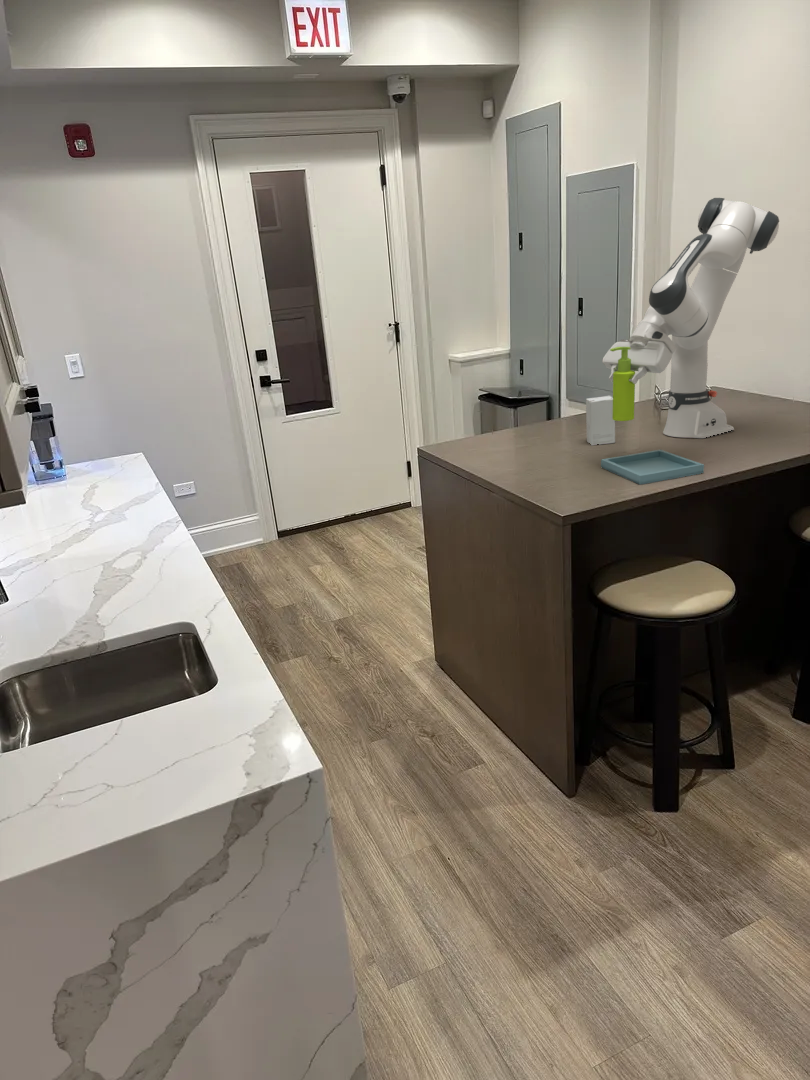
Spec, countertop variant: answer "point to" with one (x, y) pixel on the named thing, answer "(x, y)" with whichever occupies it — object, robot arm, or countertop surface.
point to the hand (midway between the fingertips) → (621, 381)
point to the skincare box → (600, 420)
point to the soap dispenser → (623, 388)
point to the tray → (652, 466)
